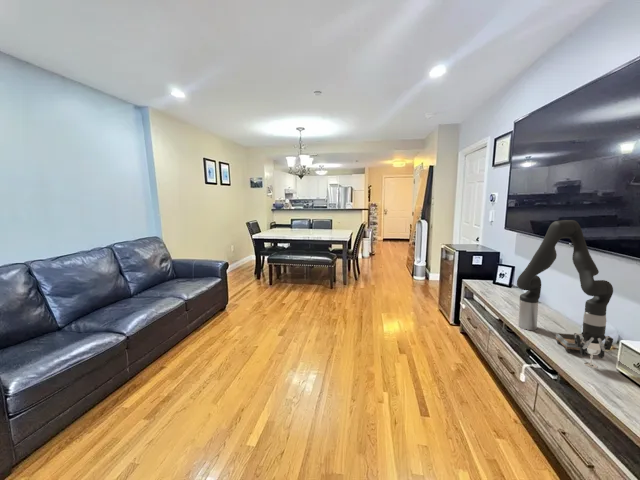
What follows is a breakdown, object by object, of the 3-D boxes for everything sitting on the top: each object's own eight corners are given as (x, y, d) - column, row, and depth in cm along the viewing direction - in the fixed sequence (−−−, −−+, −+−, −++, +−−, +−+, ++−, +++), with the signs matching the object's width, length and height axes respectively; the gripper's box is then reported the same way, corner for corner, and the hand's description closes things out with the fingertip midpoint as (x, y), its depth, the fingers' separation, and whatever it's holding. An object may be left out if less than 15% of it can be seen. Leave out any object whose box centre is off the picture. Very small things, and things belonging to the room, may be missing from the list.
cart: (555, 342, 154) (555, 332, 153) (577, 344, 151) (578, 334, 150) (566, 353, 142) (567, 343, 142) (591, 355, 139) (591, 345, 139)
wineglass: (582, 365, 132) (584, 341, 130) (582, 360, 136) (584, 337, 134) (599, 370, 127) (601, 345, 126) (599, 365, 131) (601, 341, 130)
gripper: (608, 320, 130) (605, 354, 132) (570, 317, 135) (568, 350, 137) (619, 327, 123) (616, 362, 125) (579, 324, 128) (577, 358, 130)
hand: (591, 356), depth 131 cm, fingers closed on wineglass, 5 cm apart
